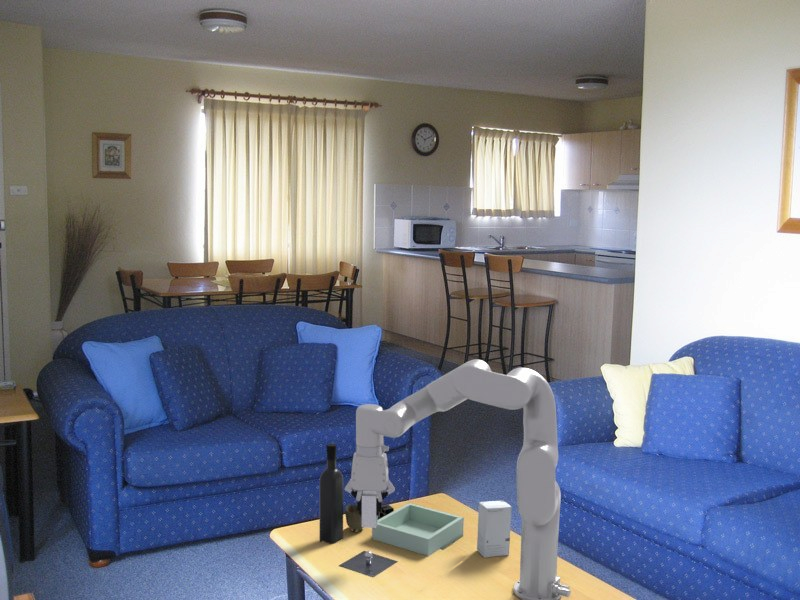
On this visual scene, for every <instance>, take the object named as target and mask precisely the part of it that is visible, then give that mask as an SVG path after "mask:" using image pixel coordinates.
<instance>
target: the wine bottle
mask: <svg viewBox="0 0 800 600" xmlns="http://www.w3.org/2000/svg"><path fill="white" fill-rule="evenodd" d="M337 447H338V446H337V444H336V443H328V444H326V468H325V469H324V470H323V471H322V472H321V475H320V477H319V529H318V530H319V536H318V537H319V539H318V540H319V543H321V542H325V543H328V544H336V543H339V542H340V541H341V540H343V539H344V476H343V474H342V472H341V471H340V469H338V468H337V451H338V450H337Z"/></svg>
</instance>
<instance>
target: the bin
mask: <svg viewBox="0 0 800 600" xmlns="http://www.w3.org/2000/svg"><path fill="white" fill-rule="evenodd" d="M464 518H465V517H464V516H459V515H456V514H452V513H449V512H445V511H442V510H438V509H433V508H430V507H426V506H423V505H422V506H421V505H418V504H414V503H410V502H408V503H407V504H405V505H403V506H401V507H399V508H397V509H395V510H394V511H393V512H392V513H390V514H388V515H386V516H384V517H382V518H380V519H379V520H378V522H377V526H376V528H371V540H374V541H378V542H381V543H384V544H388V545H390V546H394V547H396V548H397V547H398V548H400V549H403V550H408V551H411V552H413V553H416V554H420V555H424V556H427V557H429V556H432V555H433V554H434V553H436V552H437V551H438V550H442V551H443V550H444V549H446V548H447V547H449V546H450V545H452V544H454V543H455V542H457V541H458V540H460V539H461V538H463V537H464Z"/></svg>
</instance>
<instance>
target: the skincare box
mask: <svg viewBox="0 0 800 600" xmlns="http://www.w3.org/2000/svg"><path fill="white" fill-rule="evenodd" d="M477 513H478V516H477V518H478V519H477V520H478V521H477V540H476V550H477V552H479V554H480V556H482V557H483V558H484V559H486V558H493V557H500V556H503V557H504V556H509V555H510V544H511V543H510V542H511V525H512V524H511V523H512V506H511V505H510V504H509V503H508V502H506V501H505V500H490V501H478V512H477Z"/></svg>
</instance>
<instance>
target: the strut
mask: <svg viewBox="0 0 800 600" xmlns="http://www.w3.org/2000/svg"><path fill="white" fill-rule="evenodd" d="M377 498H378V497H377V492H376V491H362V527H364V528H371V529H372V528H376V526H377V522H378V516H377V515H376V502H377Z"/></svg>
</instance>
